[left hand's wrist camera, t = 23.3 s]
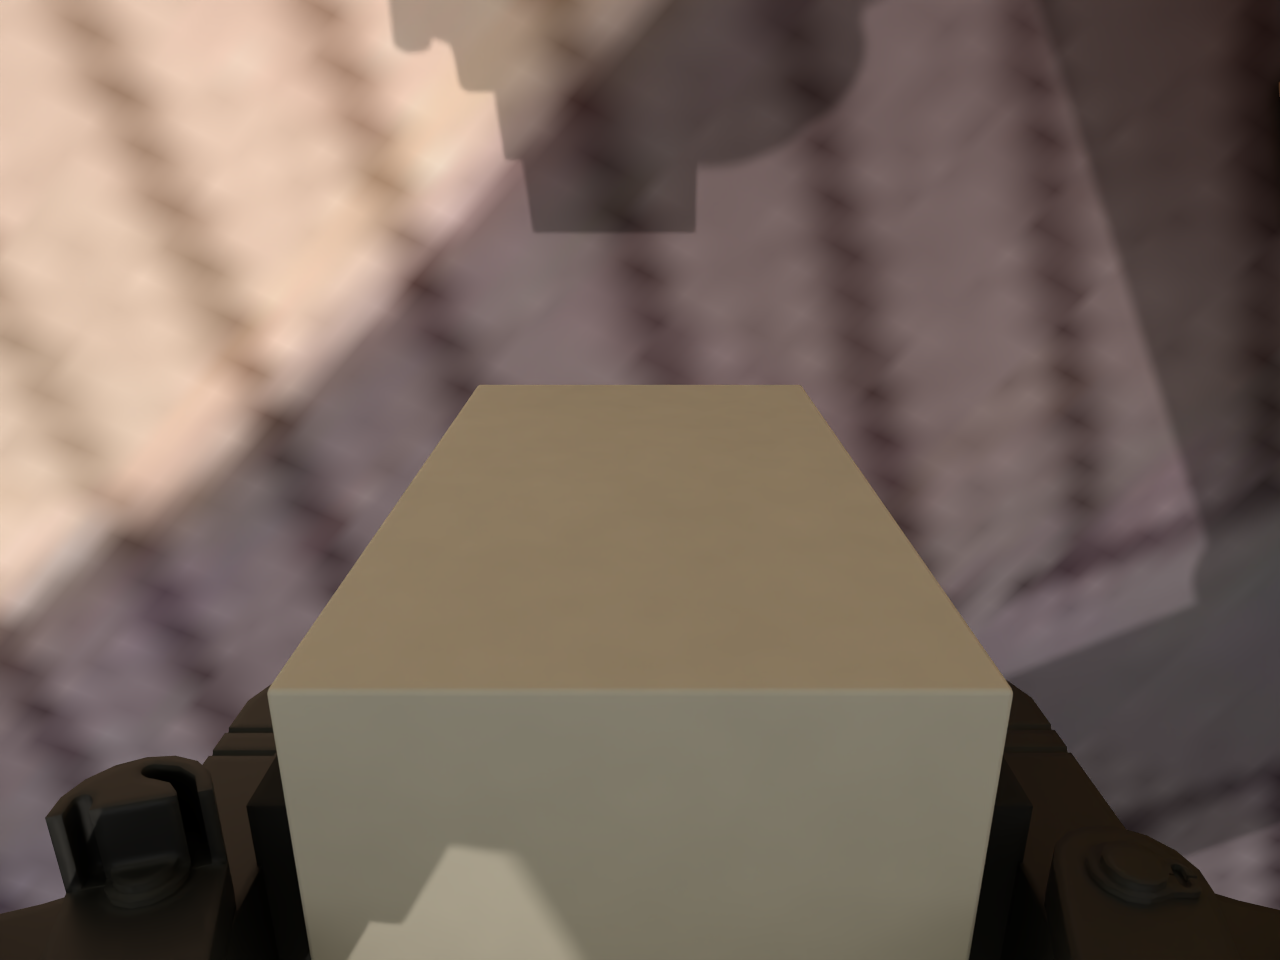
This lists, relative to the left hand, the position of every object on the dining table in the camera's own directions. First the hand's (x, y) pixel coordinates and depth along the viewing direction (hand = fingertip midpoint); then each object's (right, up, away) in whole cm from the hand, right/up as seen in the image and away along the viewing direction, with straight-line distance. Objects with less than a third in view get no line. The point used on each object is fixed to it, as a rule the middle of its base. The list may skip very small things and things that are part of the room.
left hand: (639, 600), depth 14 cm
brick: (0, +1, +2) cm, 2 cm away
